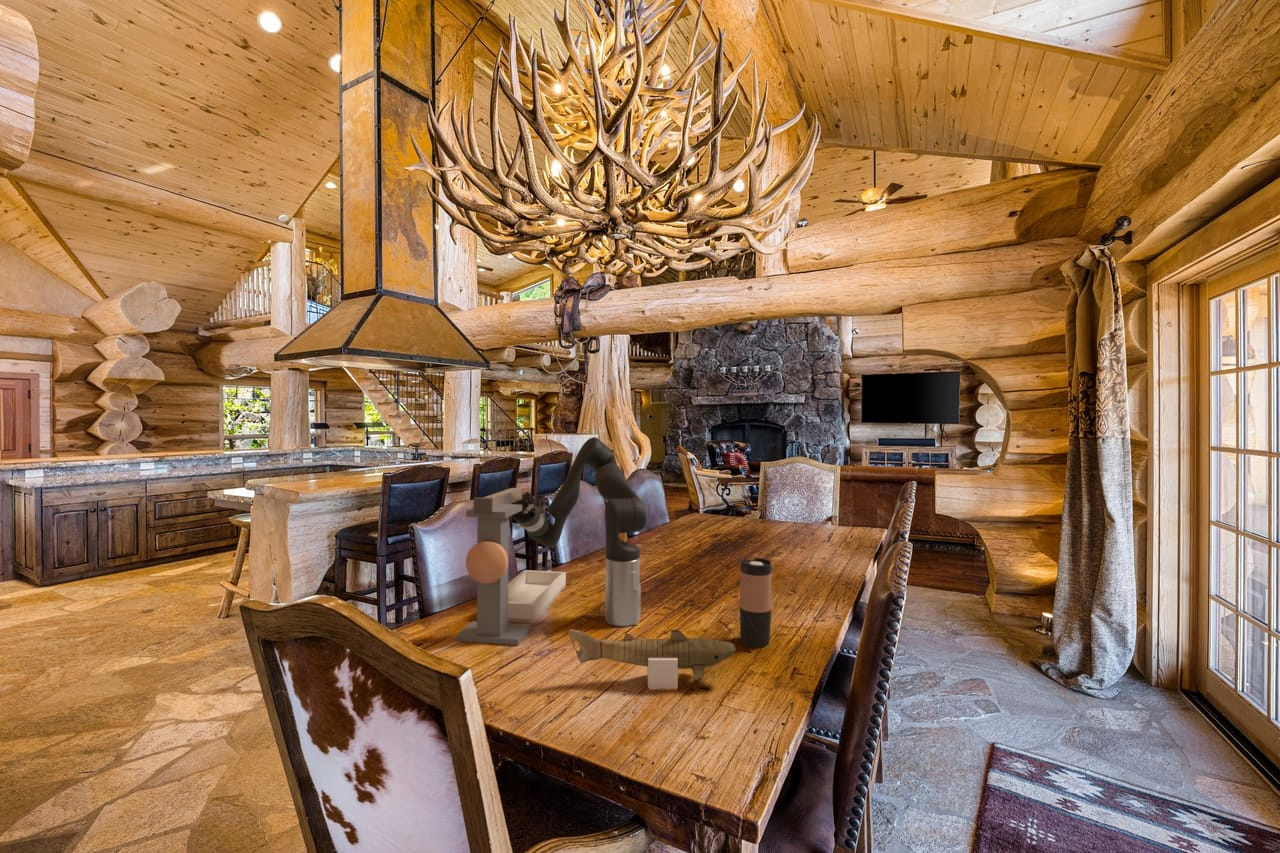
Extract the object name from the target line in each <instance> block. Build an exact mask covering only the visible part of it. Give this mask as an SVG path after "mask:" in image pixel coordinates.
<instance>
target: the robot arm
mask: <svg viewBox="0 0 1280 853" xmlns="http://www.w3.org/2000/svg"><path fill="white" fill-rule="evenodd" d="M586 465H587V466H588V467H590V468H591V469H592V470H594V472H596V473H595V476H594V483H595V487H596V489H597V490H598V493H599V495H600V496H601V497H602V498H603V499H604V500H606V503H605V508H604V523H605V524H604V526H605V605H604V607H605V609H604V610H605V611H604V614H605V618H604V620H605V622H606V623H607V624H609V625H611V626H616V627H628V626H637V625H638V623H639V622H640V619H641V594H642V593H641V591H642V590H641V588H642V587H641V582H640V564H641V563H640V562H641V561H640V558H641V555H640V554H641V553H640V547H639V546H638V545H637V544H634V543H631V542H627V541H625V540H622V539H621V538H620V534H626V533H627V534H629V533H638V532H640V531H643V530H644V529H645V527H646V525H647V519H648V517H647V516H648V515H647V511H646V508H645V505H644V503H643V502H642V499H641V498H640V497H639V495H638V494H637V493H636V492H635V491H634V490H633V488H632V487H631V486H630V484H629V482H628V481H627V478H626V476H625V473H623V471H622V470H621V467H620V466H619V465H618V463H617V459H616V456H615V453H614V451H613V450H612V449H611V448H610V447H608V446H607V445H606V444H605V443H604V442H603V441H601V440H600V439H599V438H597V437H591V438H588V439H587V440H586V441H585V442H584V443H583V444H582V446H581V447H580V449H579V451H578V452H577V455H576V456H575V459H574V461H573V463H572V465H571V466H570V469H569V472H568V474H566V475H567V476H566V478H565V480H564V482H563V484H562V486H561V487H560V489H559V491H558V492H557V494H556V495H555V497H554V498H553V499H552V501H551V503H550V504H549V506H548V507H547V506H546V505H547V504H546V502H545V501H544V499H543V498H542V497H537V498H536V496H533V495H532V493H530V492H529V491H525V492H524V497H523V498H522V499H521V500H518V501H516V502H513V503H511V504H518V505H522V511H520V512H518V513H516V514H513V515H511V516H512V518H513V519H514V520H515V521H516V523H517V524H519V526H520V527H521V528H522V529H524V530H526V533H527V536H528V537H530V538H531V539H532V540H534V541H535V542H538V543H539V544H541V545H542V546H544V547H546V548H549V549H550V548H553V547H554V546H556V545H557V544H558V543H559V541H560V538H561V536H562V532H563V529H564V528H565V527H564V526H565V523H566V521H567V519H568V518H569V515H570V514H571V512H572V510H573V509H574V508H575V505H576V504H577V502H578V500H579V497H580V488H581V478H582V473H583V470H584V467H585V466H586ZM498 492H500V491H499V490H495V492H494V493H493V494H495V493H498ZM546 507H547V513H548V514H549V515H550V516H551V517H552V518H553V519H554V520H553V521H554V522H553V524H552V523H550V522H549V520H548V518H547V517H546V515H545V514H546V513H545V510H546Z"/></svg>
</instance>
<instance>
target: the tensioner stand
mask: <svg viewBox="0 0 1280 853" xmlns="http://www.w3.org/2000/svg"><path fill="white" fill-rule="evenodd" d="M520 511H522V505H518V504H509V505H506V506H504V507H501V508H499V509H497V510H494V511H492V514H491V515H477V514H474V507H472V508H469V509H466V511H465V517H466V518H477V525H476V526H477V528H476V529H477V530H476V531H477V535H476V537H477V540H476V541H477V543H476V544H475V545H473V546H472V547H470V549H469V550H468V552H467V554H466V557H465V567H466V570H467V572H468V573H469V575H470V577H471V578H472V579H473V580H475V581H476V621H475V620H472V621H471V622H470V623H468V624H467V625H466V626H465V627H463V628H462V630H460V631H459V632H458V633H457V634H455V641H456V640H457V641H456V642H461V641H470V642H469V643H474V642H481V643H480V644H488V643H496V644H495V645H501V644H506V645H505V646H514V645H516V646H515V647H518V646H519V645H520V644H521V643H522V642H523V641H524V640H525V639H526V637H527V636H528V635H529V634H530V633H531V632H532V624H521V623H519V624H518V623H509V621H508V583H509V561H510V560H509V557H510V556H509V548H510V545H509V542H510V540H509V539H510V538H509V535H510V534H509V533H510V532H509V530H510V529H509V528H510V526H509V525H510V521H509V520H510V518H509V517H511V516H512V515H513V514H516V513H518V512H520ZM529 632H530V633H529ZM528 633H529V634H528ZM523 639H524V640H523ZM522 640H523V641H522ZM521 641H522V642H521Z"/></svg>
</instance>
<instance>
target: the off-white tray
mask: <svg viewBox="0 0 1280 853" xmlns="http://www.w3.org/2000/svg"><path fill="white" fill-rule="evenodd" d="M566 574H567V572H566V571H565V572H564V571H550V570H530V569H529V570H528V569H525V570H523V571H521V572H520V573H519V574H517V575H516V576H515V577H514V578H513V579H511V580H509V581H508V622H511V623H524V622H530V623H529V624H535V623H534V622H536V621H537V620H538V619H539V618H540V617H541V616H542V615H543V614H542V613H544V612H545V611H546V610H547V609H548V608H549V607H550V606H551V605H552V604H553V602H554V601H555V600H556V599H557V598H558V597H559V596H560V595H561V593H562V592H563V591H564V590H565V589H566V588H565V587H566V586H567V584H566V579H567V578H566V577H567V576H566ZM564 588H565V589H564ZM563 589H564V590H563ZM562 590H563V591H562ZM561 591H562V592H561ZM557 596H558V597H557ZM556 597H557V598H556ZM555 598H556V599H555ZM554 599H555V600H554ZM553 600H554V601H553ZM550 604H551V605H550ZM549 605H550V606H549ZM548 606H549V607H548ZM547 607H548V608H547ZM541 614H542V615H541ZM540 615H541V616H540ZM539 616H540V617H539Z"/></svg>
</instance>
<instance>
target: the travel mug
mask: <svg viewBox="0 0 1280 853" xmlns="http://www.w3.org/2000/svg"><path fill="white" fill-rule="evenodd" d="M739 578H740V580H739V582H740V584H739V585H740V586H739V589H740V591H739V624H740V625H739V627H740V628H739V632H740V633H739V636H740V637H739V640H740V642H741V644H743V645H745V646H747V647H750V648H756V647H760V648H765V646H766V647H768V646H769V645H770V642H771V640H770V639H771V625H772V624H771V620H772V562H771V561H770V560H768V559H766V558H761V557H756V558H754V559H748V558H746V557H745V558H742V559H741V560H740V577H739ZM767 645H768V646H767Z"/></svg>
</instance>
